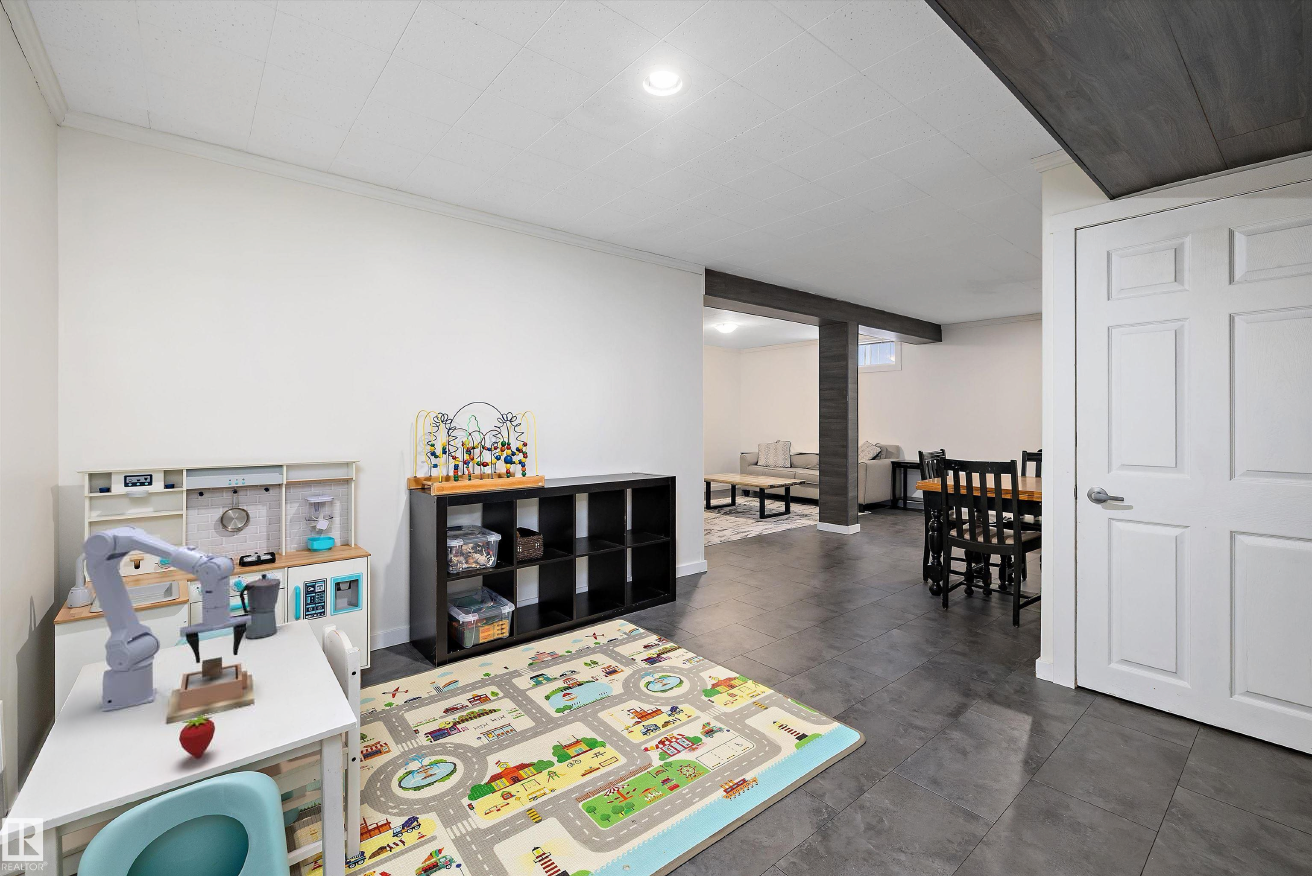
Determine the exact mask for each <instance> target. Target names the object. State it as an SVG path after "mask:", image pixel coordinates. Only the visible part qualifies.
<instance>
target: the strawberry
mask: <svg viewBox="0 0 1312 876" xmlns="http://www.w3.org/2000/svg"><path fill="white" fill-rule="evenodd" d="M194 713H195V712H194ZM195 714H196V713H195ZM197 715H198V714H197ZM212 718H213V716H210V717H207V716H206V717H205V715H202V716H200V717H196V719H187V720H182V721H181V723H183V724H185V723H186V725H185V726H184V727H183V728H182V730H181V731H180V732H179V738H178V740H179V743H180V746H181V748H182V749H183V750H184V751H186V753H188V754H189V755H191V756H193V757H194V759H201V757H202V756H203V755H204V754H205V752H206V750H207V749H208V747H209V746H210V744H211V742H212V740H213V738H214V735H215V731H216V725H215V723H214V721H213V720H211V719H212Z"/></svg>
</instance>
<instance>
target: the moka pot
mask: <svg viewBox="0 0 1312 876" xmlns="http://www.w3.org/2000/svg"><path fill="white" fill-rule="evenodd" d="M260 576H261V578H260V579H257V580H256V579H255V580H252V581H249V582H247V583H246V585H244V586H243V587H242V589H241V591H240V592H239V599H240V602H241V606H242V611H243V613H244V614H245V615H246V614H248V616H251V625H246V627H247V630H246V632H245V634H244V637H245V638H249V639H256V638H257V639H259V638H266V637H270V636H273V635H275V634H277V630H278V629H277V622H276V621H277V620H276V610H275V609H276V605H277V603H278V597H279V592H280V586H281V579H280V578H267V576H268V575H267V574H265V573H263V574H261V575H260ZM245 592H246V597H247V606H248V607H249V609H247V606H246V598H245Z"/></svg>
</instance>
